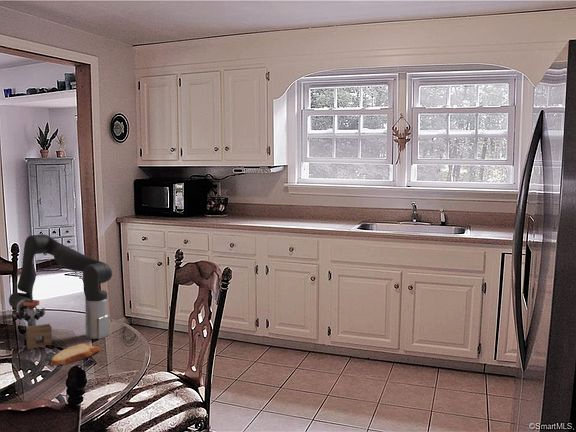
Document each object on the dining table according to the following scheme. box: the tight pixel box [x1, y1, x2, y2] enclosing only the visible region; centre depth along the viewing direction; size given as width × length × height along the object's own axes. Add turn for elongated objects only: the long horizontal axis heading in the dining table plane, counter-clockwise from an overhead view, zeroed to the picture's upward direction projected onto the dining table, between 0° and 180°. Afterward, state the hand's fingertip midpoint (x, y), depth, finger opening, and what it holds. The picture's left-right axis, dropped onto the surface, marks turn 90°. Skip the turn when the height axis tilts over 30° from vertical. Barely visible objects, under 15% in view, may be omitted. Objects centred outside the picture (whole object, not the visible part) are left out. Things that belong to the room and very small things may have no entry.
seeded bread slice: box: [50, 342, 101, 365], centre depth 210 cm, size 18×18×4 cm
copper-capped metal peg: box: [24, 299, 40, 327], centre depth 230 cm, size 14×6×14 cm, turn 35°
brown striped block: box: [25, 323, 53, 351], centre depth 219 cm, size 5×9×8 cm, turn 125°
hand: (32, 318), depth 231 cm, fingers closed on copper-capped metal peg, 3 cm apart
